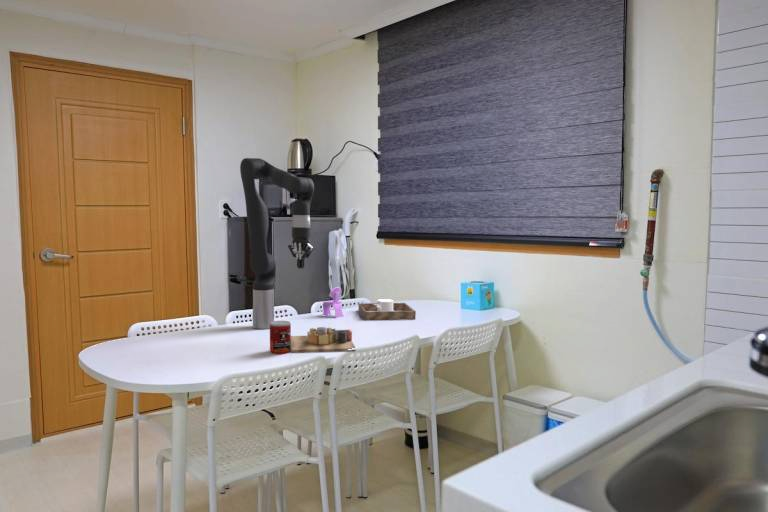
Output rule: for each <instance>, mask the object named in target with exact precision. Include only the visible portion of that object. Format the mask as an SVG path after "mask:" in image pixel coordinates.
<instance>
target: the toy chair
mask: <svg viewBox="0 0 768 512" xmlns="http://www.w3.org/2000/svg"><path fill="white" fill-rule="evenodd" d="M341 294H342V288H341V287H340V286H336V287H334V288H332V289H330V292H329V295H330V298H332V299H333V300H332V299H331V300H327V301H322V302H323V303H322V309H323V311H322V316H323V315H328V314H332V312H331V306H333V309H334V313H335V314H334V315H335V316H334V318H335V319H338V317H339V318H343V317H344V314H343V312H342V311H343V310H342V309H343V304H342V301H340V295H341ZM328 316H329V315H328Z"/></svg>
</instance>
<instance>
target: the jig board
mask: <svg viewBox="0 0 768 512" xmlns="http://www.w3.org/2000/svg"><path fill="white" fill-rule="evenodd" d="M327 328H328V327H325V326H321V327H316V330H317V332H318V335H324V334H327ZM352 348H356V347H355V344H354V342H353V339H352V340H351V341H345V332H340V341H336V342H335V343H332V344H325V345H319V344H317V345H316V344H310V343H308V341H307V335H291V349H290V353H293V354H295V353H324V352H325V353H326V352H327V353H328V352H329V353H330V352H332V353H333V352H346V351H345V350H348V349H352Z"/></svg>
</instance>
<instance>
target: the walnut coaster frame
mask: <svg viewBox="0 0 768 512" xmlns="http://www.w3.org/2000/svg"><path fill="white" fill-rule="evenodd" d="M373 304H377V302H374V303H373V302H371V303H370V302H367V303H363V302H361V303H359V302H358V312H359V314H360V315H361V317H362V318H363V320H364V321H390V320H389V319H408V320H416V318H417V317H416V315H417V314H416V310H415V309H413V308H412V307H411V306H410V305H408V304H407V303H406V302H393V310H404V311H381V312H377V307H376V306H377V305H373Z"/></svg>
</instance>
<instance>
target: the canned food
mask: <svg viewBox="0 0 768 512" xmlns="http://www.w3.org/2000/svg"><path fill="white" fill-rule="evenodd" d="M291 324H292V323H291V322H290V321H288V320H274V321H273V322H271V323H270V328H269V351H270V353H271V354H274V355H284V354H289V353H291V336H292V333H291V331H292V330H291V326H292V325H291Z"/></svg>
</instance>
